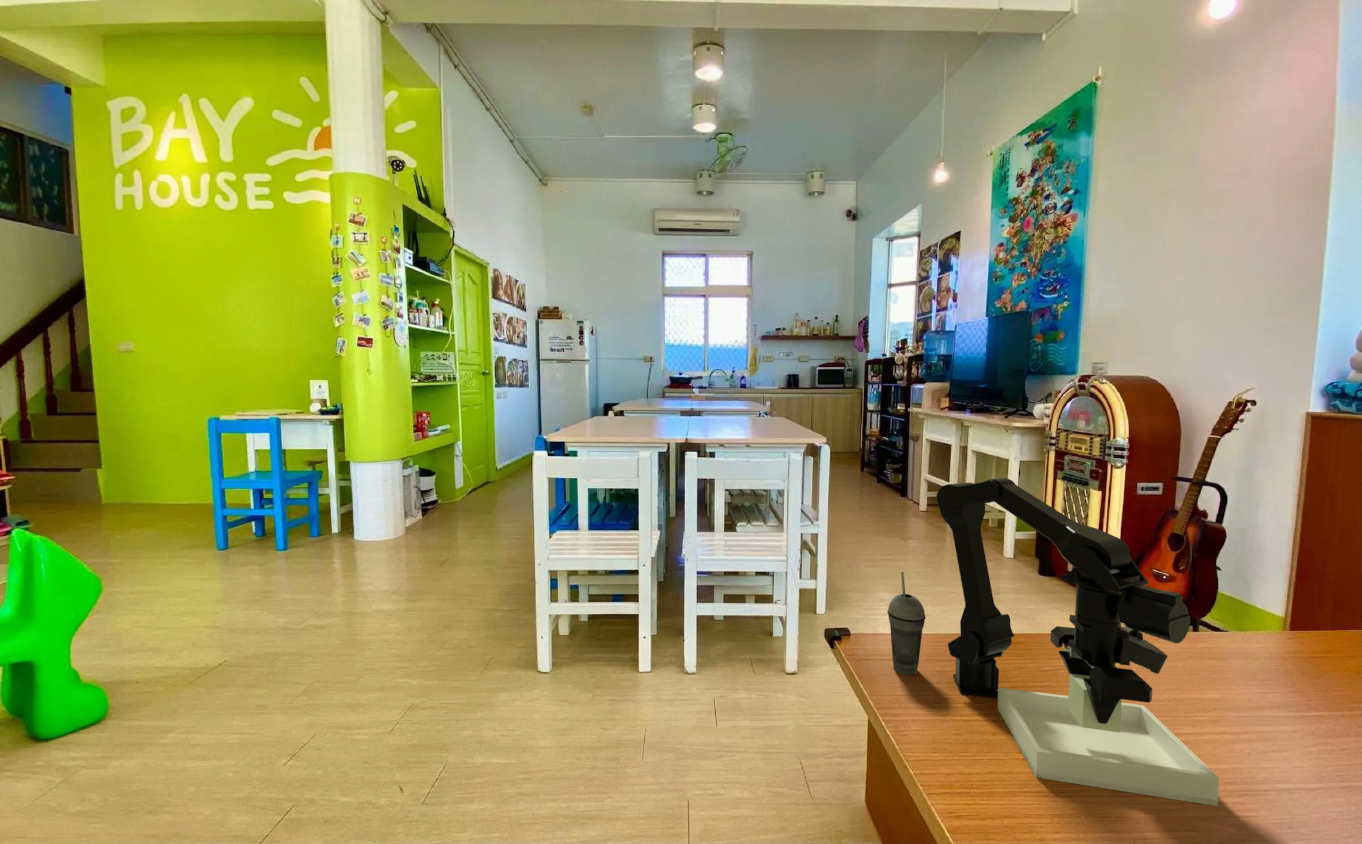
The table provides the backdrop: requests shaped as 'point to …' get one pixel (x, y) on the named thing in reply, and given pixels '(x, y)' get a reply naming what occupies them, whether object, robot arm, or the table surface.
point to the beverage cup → (906, 631)
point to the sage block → (1089, 707)
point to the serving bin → (1105, 749)
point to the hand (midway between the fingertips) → (1093, 713)
